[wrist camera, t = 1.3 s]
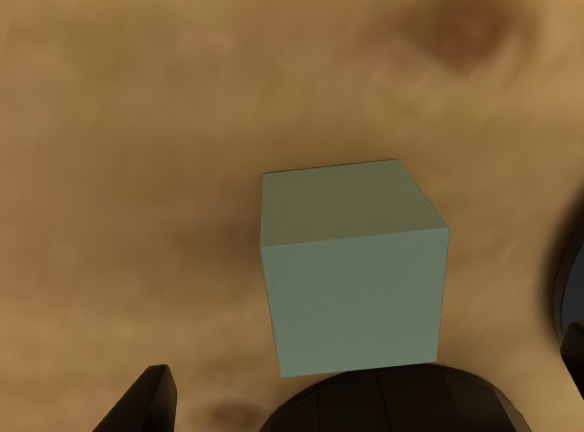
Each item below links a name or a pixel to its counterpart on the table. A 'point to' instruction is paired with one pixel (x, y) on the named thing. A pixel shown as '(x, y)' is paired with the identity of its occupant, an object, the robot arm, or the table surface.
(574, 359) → the robot arm
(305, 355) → the block
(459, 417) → the pot
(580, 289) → the lid
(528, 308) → the table surface
